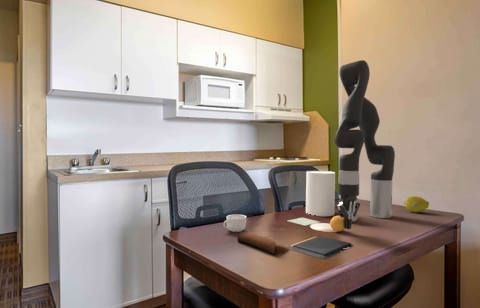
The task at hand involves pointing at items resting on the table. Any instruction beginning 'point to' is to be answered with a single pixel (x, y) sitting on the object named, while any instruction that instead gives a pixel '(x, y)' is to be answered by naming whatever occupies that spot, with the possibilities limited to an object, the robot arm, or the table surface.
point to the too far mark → (303, 221)
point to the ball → (337, 223)
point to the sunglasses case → (262, 242)
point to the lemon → (416, 204)
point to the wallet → (320, 247)
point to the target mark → (322, 227)
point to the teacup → (235, 223)
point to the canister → (320, 193)
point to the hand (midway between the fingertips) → (347, 228)
